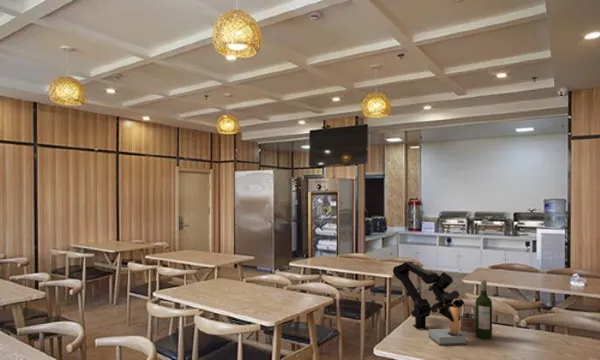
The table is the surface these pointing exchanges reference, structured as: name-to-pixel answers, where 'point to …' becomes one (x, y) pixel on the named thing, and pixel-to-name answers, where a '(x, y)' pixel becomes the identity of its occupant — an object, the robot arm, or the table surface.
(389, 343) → the table surface
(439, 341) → the socket block
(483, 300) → the wine bottle
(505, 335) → the table surface
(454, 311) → the pin
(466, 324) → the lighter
